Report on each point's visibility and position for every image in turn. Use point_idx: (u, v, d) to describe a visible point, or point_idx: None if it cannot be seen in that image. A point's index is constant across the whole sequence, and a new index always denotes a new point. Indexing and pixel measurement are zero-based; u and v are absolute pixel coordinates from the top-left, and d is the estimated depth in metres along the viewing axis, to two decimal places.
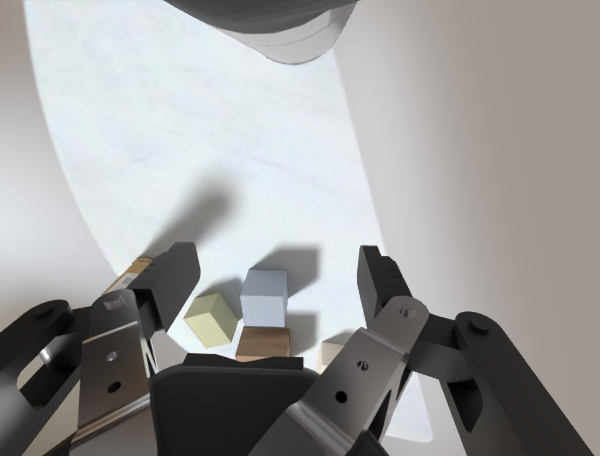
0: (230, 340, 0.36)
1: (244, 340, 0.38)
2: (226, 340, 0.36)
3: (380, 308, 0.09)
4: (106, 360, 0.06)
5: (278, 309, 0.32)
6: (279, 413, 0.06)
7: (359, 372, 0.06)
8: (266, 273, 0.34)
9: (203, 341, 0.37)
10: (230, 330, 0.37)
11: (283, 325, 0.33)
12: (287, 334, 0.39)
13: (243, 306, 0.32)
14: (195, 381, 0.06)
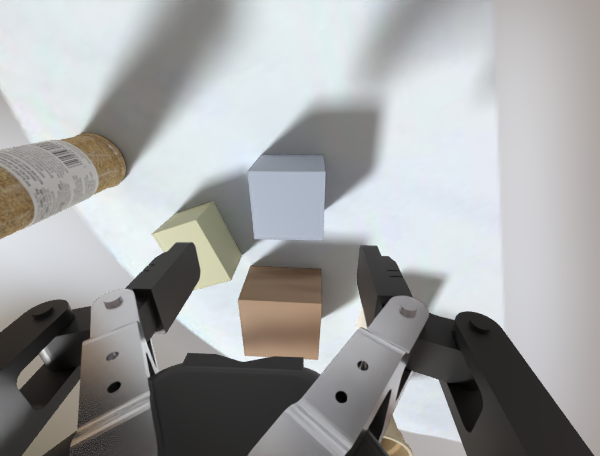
0: (229, 276, 0.23)
1: (252, 281, 0.24)
2: (222, 276, 0.22)
3: (380, 308, 0.09)
4: (106, 360, 0.06)
5: (315, 201, 0.18)
6: (279, 413, 0.06)
7: (360, 372, 0.06)
8: (290, 157, 0.21)
9: None
10: (230, 262, 0.23)
11: (321, 237, 0.19)
12: (319, 275, 0.25)
13: (253, 196, 0.18)
14: (195, 381, 0.06)
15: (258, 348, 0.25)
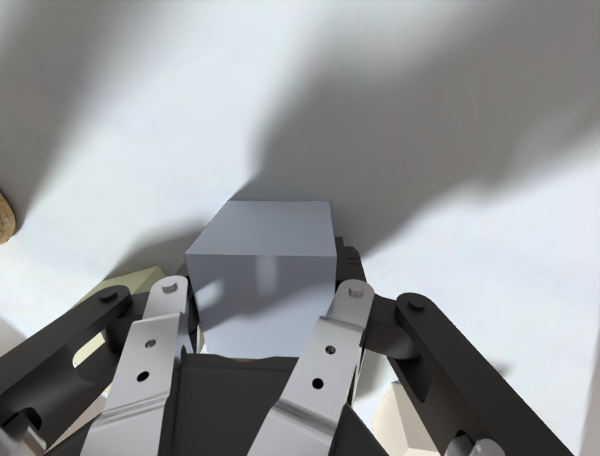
0: None
1: None
2: None
3: (335, 291, 0.10)
4: (145, 346, 0.07)
5: (316, 304, 0.09)
6: None
7: (329, 356, 0.06)
8: (274, 207, 0.12)
9: None
10: None
11: None
12: None
13: (200, 294, 0.10)
14: (195, 381, 0.06)
15: None
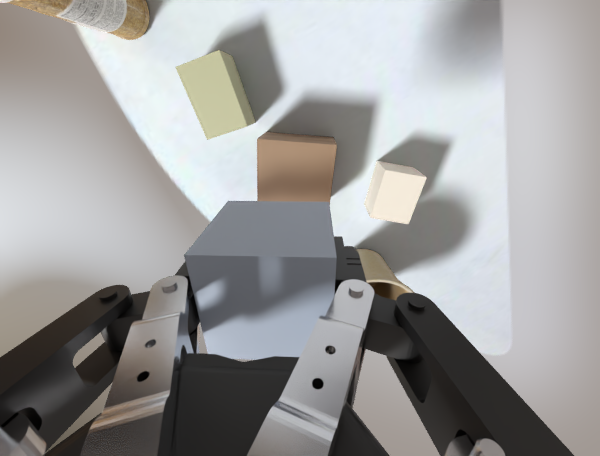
0: (246, 122, 0.24)
1: (269, 135, 0.26)
2: (239, 121, 0.24)
3: (335, 291, 0.10)
4: (145, 346, 0.07)
5: (316, 305, 0.09)
6: None
7: (329, 356, 0.06)
8: (274, 208, 0.12)
9: (204, 123, 0.24)
10: (246, 113, 0.25)
11: None
12: (332, 138, 0.27)
13: (200, 295, 0.10)
14: (195, 381, 0.06)
15: None
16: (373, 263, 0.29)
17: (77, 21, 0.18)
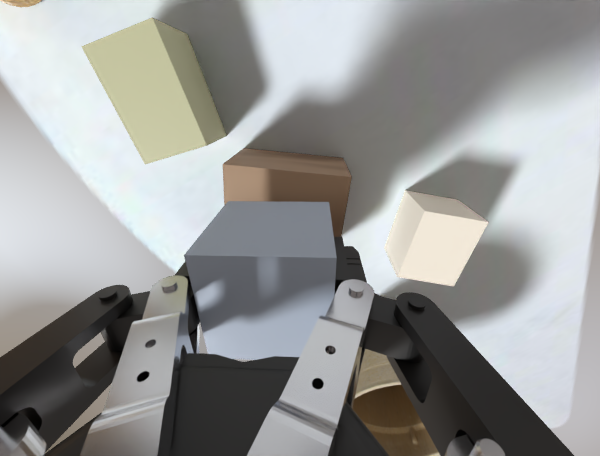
0: (205, 139, 0.15)
1: (246, 155, 0.17)
2: (194, 137, 0.15)
3: (335, 291, 0.10)
4: (145, 346, 0.07)
5: (316, 305, 0.09)
6: None
7: (328, 356, 0.06)
8: (274, 208, 0.12)
9: (138, 139, 0.15)
10: (207, 125, 0.16)
11: None
12: (341, 161, 0.18)
13: (200, 296, 0.10)
14: (195, 381, 0.06)
15: None
16: None
17: None
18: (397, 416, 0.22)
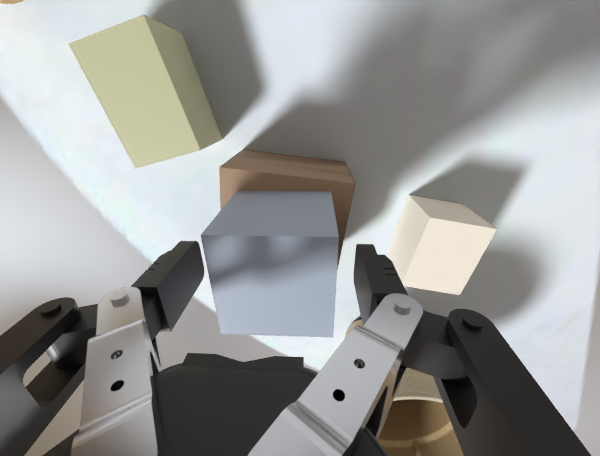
0: (198, 143, 0.14)
1: (244, 158, 0.16)
2: (187, 141, 0.14)
3: (375, 306, 0.09)
4: (110, 359, 0.06)
5: (320, 282, 0.10)
6: (279, 413, 0.06)
7: (356, 370, 0.06)
8: (280, 196, 0.13)
9: (128, 142, 0.14)
10: (201, 128, 0.15)
11: (330, 332, 0.12)
12: (344, 165, 0.17)
13: (214, 273, 0.10)
14: (195, 381, 0.06)
15: None
16: None
17: None
18: (400, 429, 0.21)
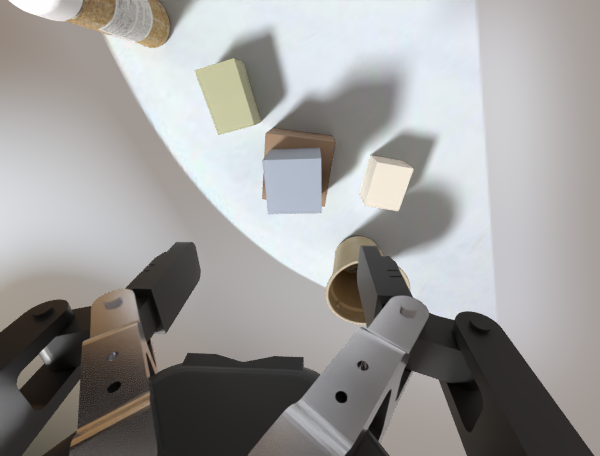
0: (253, 121, 0.27)
1: (275, 131, 0.29)
2: (247, 120, 0.27)
3: (380, 308, 0.09)
4: (107, 360, 0.06)
5: (314, 181, 0.23)
6: (279, 413, 0.06)
7: (360, 372, 0.06)
8: (294, 150, 0.26)
9: (216, 120, 0.27)
10: (253, 114, 0.28)
11: (320, 210, 0.25)
12: (331, 136, 0.30)
13: (267, 179, 0.23)
14: (195, 381, 0.06)
15: None
16: None
17: (113, 33, 0.22)
18: None
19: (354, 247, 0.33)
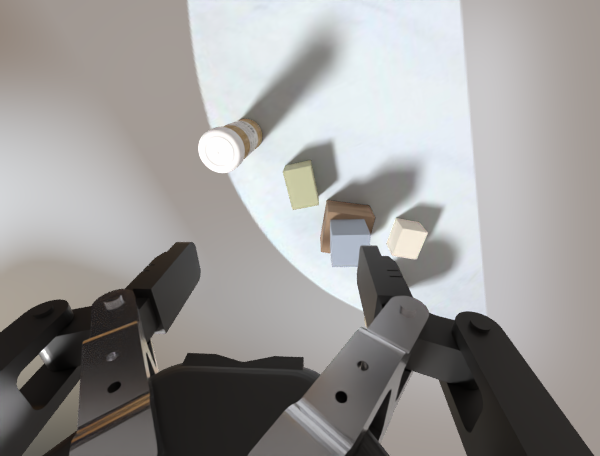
0: (318, 202, 0.40)
1: (331, 205, 0.41)
2: (314, 202, 0.39)
3: (380, 308, 0.09)
4: (107, 360, 0.06)
5: None
6: (279, 413, 0.06)
7: (360, 372, 0.06)
8: (347, 221, 0.39)
9: (293, 201, 0.40)
10: (317, 196, 0.40)
11: None
12: (369, 207, 0.42)
13: (333, 246, 0.36)
14: (195, 381, 0.06)
15: None
16: None
17: None
18: None
19: None
